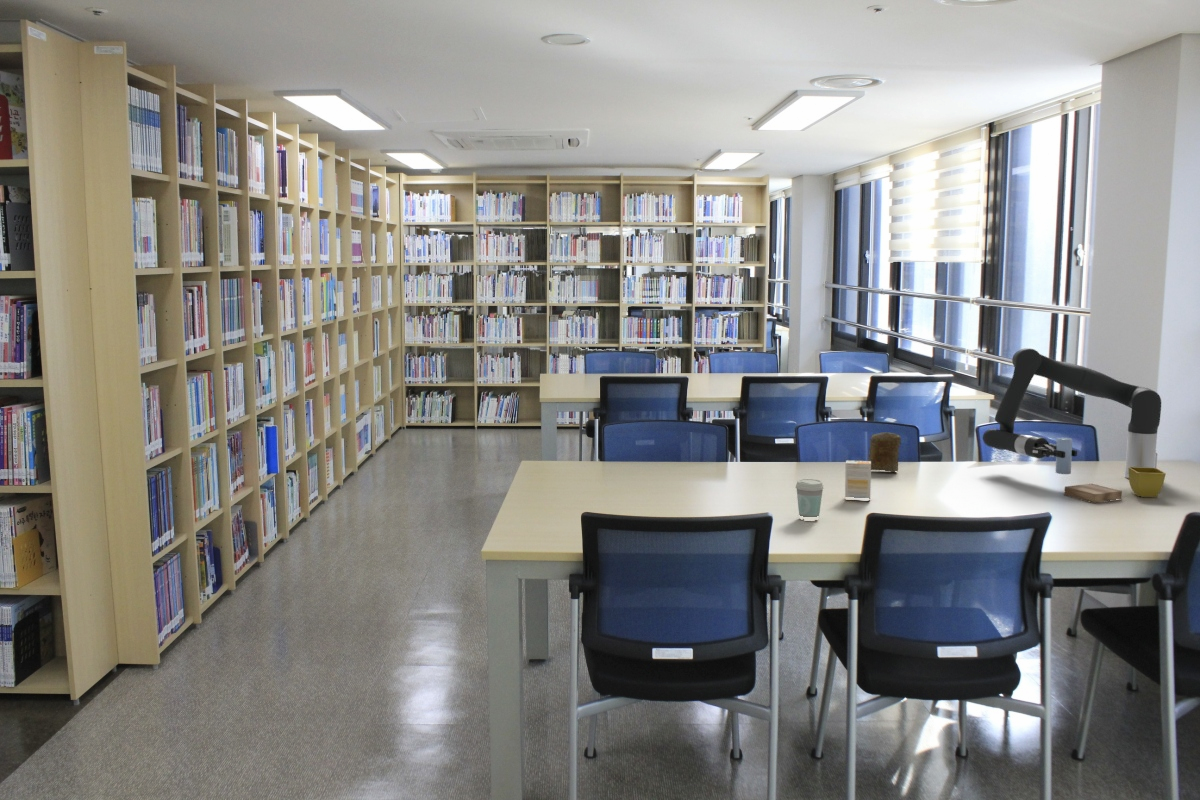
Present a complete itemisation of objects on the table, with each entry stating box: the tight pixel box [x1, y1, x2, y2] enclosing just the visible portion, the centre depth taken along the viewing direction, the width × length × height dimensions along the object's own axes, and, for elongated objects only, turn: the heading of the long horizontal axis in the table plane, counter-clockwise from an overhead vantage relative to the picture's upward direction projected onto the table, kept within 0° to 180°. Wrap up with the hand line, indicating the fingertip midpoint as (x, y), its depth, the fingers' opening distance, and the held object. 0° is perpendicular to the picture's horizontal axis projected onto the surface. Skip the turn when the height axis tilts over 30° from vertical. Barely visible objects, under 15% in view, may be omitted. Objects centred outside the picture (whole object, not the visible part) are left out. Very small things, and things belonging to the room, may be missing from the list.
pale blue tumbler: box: [1055, 437, 1073, 475], centre depth 316 cm, size 5×5×12 cm
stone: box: [868, 431, 902, 473], centre depth 348 cm, size 11×9×15 cm
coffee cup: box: [795, 478, 825, 517], centre depth 281 cm, size 8×9×12 cm
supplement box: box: [844, 459, 872, 500], centre depth 305 cm, size 8×5×13 cm, turn 71°
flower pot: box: [1128, 467, 1166, 498], centre depth 306 cm, size 9×9×9 cm
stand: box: [1063, 483, 1123, 504], centre depth 305 cm, size 12×12×3 cm
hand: (1070, 454), depth 313 cm, fingers closed on pale blue tumbler, 4 cm apart
